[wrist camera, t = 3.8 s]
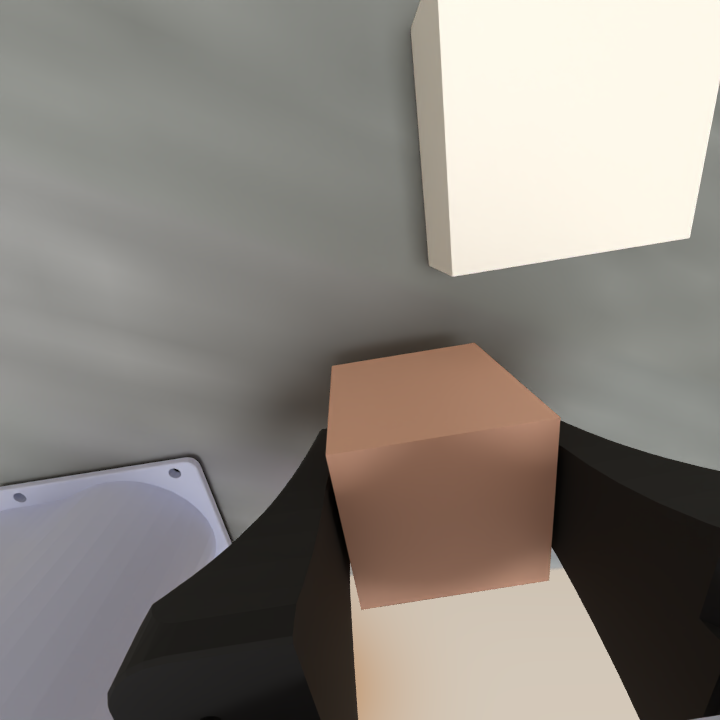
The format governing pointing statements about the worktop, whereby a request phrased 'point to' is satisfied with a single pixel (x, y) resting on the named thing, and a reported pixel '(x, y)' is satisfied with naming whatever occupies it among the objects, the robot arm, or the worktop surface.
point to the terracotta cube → (441, 475)
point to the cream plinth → (560, 125)
